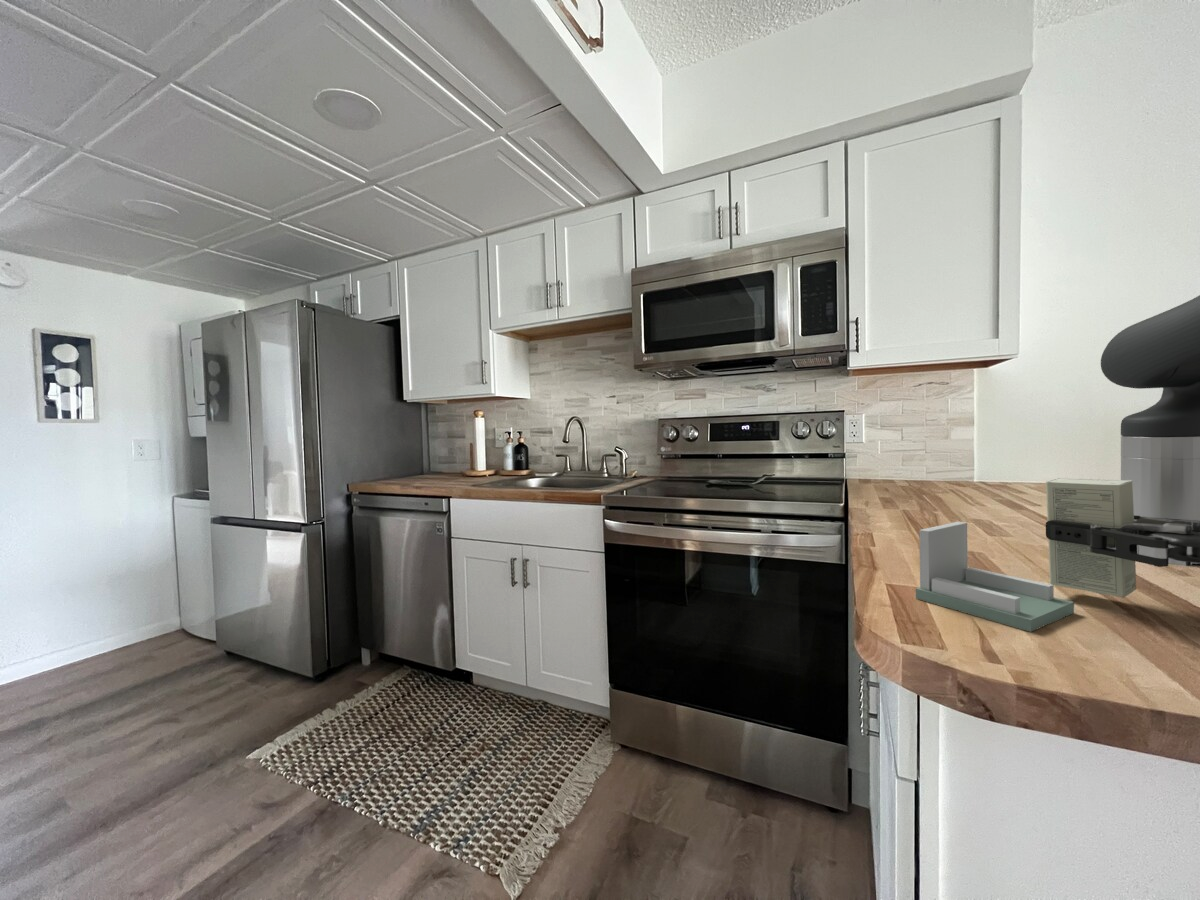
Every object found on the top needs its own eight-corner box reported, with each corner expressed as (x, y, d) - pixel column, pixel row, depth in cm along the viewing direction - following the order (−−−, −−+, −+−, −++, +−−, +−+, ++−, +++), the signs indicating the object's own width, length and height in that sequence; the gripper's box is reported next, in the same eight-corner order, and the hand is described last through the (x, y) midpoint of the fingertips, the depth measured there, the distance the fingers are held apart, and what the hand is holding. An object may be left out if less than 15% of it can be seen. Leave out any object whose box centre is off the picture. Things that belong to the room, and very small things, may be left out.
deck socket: (959, 584, 61) (958, 520, 61) (1074, 613, 51) (1074, 536, 51) (916, 598, 57) (915, 530, 57) (1030, 632, 47) (1030, 549, 47)
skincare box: (1137, 591, 53) (1137, 480, 52) (1123, 599, 50) (1123, 484, 50) (1060, 577, 58) (1060, 476, 57) (1045, 584, 56) (1044, 480, 55)
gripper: (1337, 505, 44) (1085, 488, 59) (1295, 527, 38) (1026, 501, 53) (1335, 586, 44) (1085, 548, 60) (1293, 620, 38) (1026, 568, 53)
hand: (1058, 526), depth 56 cm, fingers closed on skincare box, 4 cm apart
